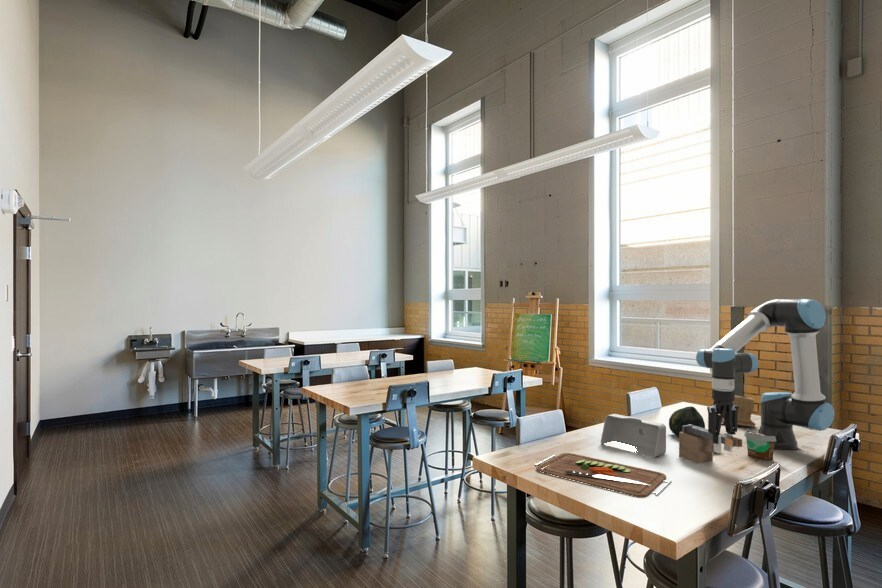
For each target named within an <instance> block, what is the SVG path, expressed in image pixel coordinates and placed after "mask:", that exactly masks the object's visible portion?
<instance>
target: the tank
mask: <svg viewBox="0 0 882 588" xmlns="http://www.w3.org/2000/svg"><path fill="white" fill-rule="evenodd" d="M611 441H617V442H621V443H625V444H629V445H632V446H635V448H636V447H637V448H636V449H637V451H638V452H637V451H636V453H637V454H636V455H639V454H640V455H639V456H643V455H644V456H643V457H646V456H647V458H651V459H653V458H657V457H659V456H661V455H665V454H666V452H667V426H666V424H664V423H662V422H656V421H651V420H646V419H642V418H639V417H638V418H637V417H633V416H627V415H622V414H618V413H612V414H608V415H606V416H605V419H604V424H603V429H602V433H601V439H600V444H601V445H602V444H604V443H607V442H611ZM633 454H635V452H634V453H633Z"/></svg>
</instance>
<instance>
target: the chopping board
mask: <svg viewBox="0 0 882 588" xmlns="http://www.w3.org/2000/svg"><path fill="white" fill-rule="evenodd" d="M547 460H548V461H547ZM545 461H546V462H545ZM543 462H544V463H543ZM541 463H542V464H541ZM538 464H540V465H539V466H535V465H538ZM548 465H549V466H548ZM534 466H535V470H536V469H537V470H538V471H541V472H544V473H548V474H552V475H555V476H559V477H563V478H567V479H571V480H575V481H579V482H583V483H587V484H590V485H589V486H591V485H594V486H593V487H595V486H598V487H597V488H599V487H601V488H600V489H603V488H606V489H605V490H607V489H610V490H609V491H611V490H614V491H613V492H615V491H617V492H616V493H619V492H622V493H621V494H623V493H626V494H625V495H627V494H629V495H628V496H631V495H633V496H632V497H635V496H636V498H646V497H648V496H650V494H653V495H654V496H656V497H658V496H659V495H660V494H662V492H664V490H665V489H667V488H668V486H670V484H672V480H668V481H667V474H665V473H663V472H660V471H659V472H658V471H655V470H651V469H646V468H642V467H636V466H631V465H628V464H627V465H626V464H624V463H623V464H622V463H619V462H618V463H617V462H613V461H608V460H604V459H600V458H595V457H590V456H585V455H581V454H576V453H571V452H563V453H560V454H559V455H557V456H556V454H553V455H550V456H549V457H547V458H545V459H543V460H541V461H539V462H538V463H535V464H534ZM545 466H547V467H545ZM543 467H545V468H544V469H543V470H542V469H541V468H543ZM537 470H536V471H537ZM538 471H537V472H538ZM555 476H554V477H555ZM559 477H558V478H559ZM563 478H562V479H563ZM567 479H566V480H567ZM571 480H570V481H571ZM575 481H574V482H575ZM579 482H578V483H579ZM583 483H582V484H583ZM662 483H665V484H664V486H663V487H661V489H659V490H658V491H657V492H654V491H655V489H657V488H658V487H659V486H660V485H661V484H662ZM587 484H586V485H587Z"/></svg>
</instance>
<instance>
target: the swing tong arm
mask: <svg viewBox="0 0 882 588" xmlns="http://www.w3.org/2000/svg"><path fill="white" fill-rule="evenodd" d="M686 432H687V433H690V434H693V435H697V436H700V437H703V438H706V439H709V440H713V434H711V433H709V432H708V431H707V430H703V429H700V428H696V427H693V425H691V424H688V426H686ZM719 435H720V434H719ZM724 444H725V445H728V446H731V447H732V448H736V446H737V439H734V438H731V437H727V436H724V435H721V445H724Z"/></svg>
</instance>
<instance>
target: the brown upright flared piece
mask: <svg viewBox="0 0 882 588" xmlns="http://www.w3.org/2000/svg"><path fill="white" fill-rule="evenodd" d="M732 402H733V405H736V406H739V409H738V422H737V426H738V425H739V426H738V427H755V426H756V423H755V422H754V421H752V420H751V417H752V414H753V413H754V412H753V411H754V410H755V400H754V398H752V397H749V396H748V397H746V396H740V395H736V394H735V400H734V401H732ZM722 424H725V423H724V418H722Z"/></svg>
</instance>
